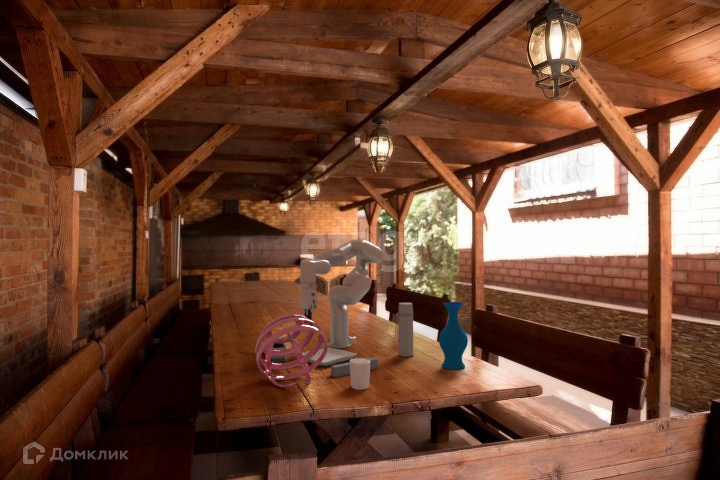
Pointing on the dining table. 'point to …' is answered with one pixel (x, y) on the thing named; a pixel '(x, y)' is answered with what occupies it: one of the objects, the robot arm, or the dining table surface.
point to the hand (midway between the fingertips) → (308, 322)
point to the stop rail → (345, 368)
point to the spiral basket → (295, 348)
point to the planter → (279, 347)
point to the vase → (453, 339)
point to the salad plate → (331, 356)
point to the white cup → (360, 373)
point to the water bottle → (405, 329)
